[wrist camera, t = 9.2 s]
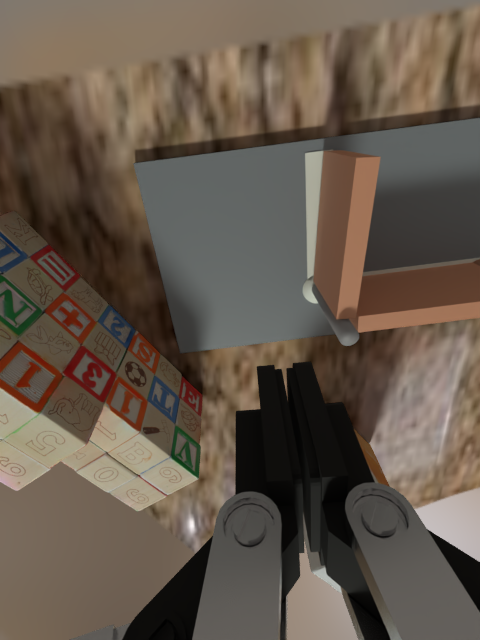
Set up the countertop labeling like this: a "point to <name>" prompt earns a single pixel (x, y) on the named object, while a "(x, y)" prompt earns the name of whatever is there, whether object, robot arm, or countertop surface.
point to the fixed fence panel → (418, 297)
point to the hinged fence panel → (343, 236)
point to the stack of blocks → (85, 383)
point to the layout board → (300, 226)
